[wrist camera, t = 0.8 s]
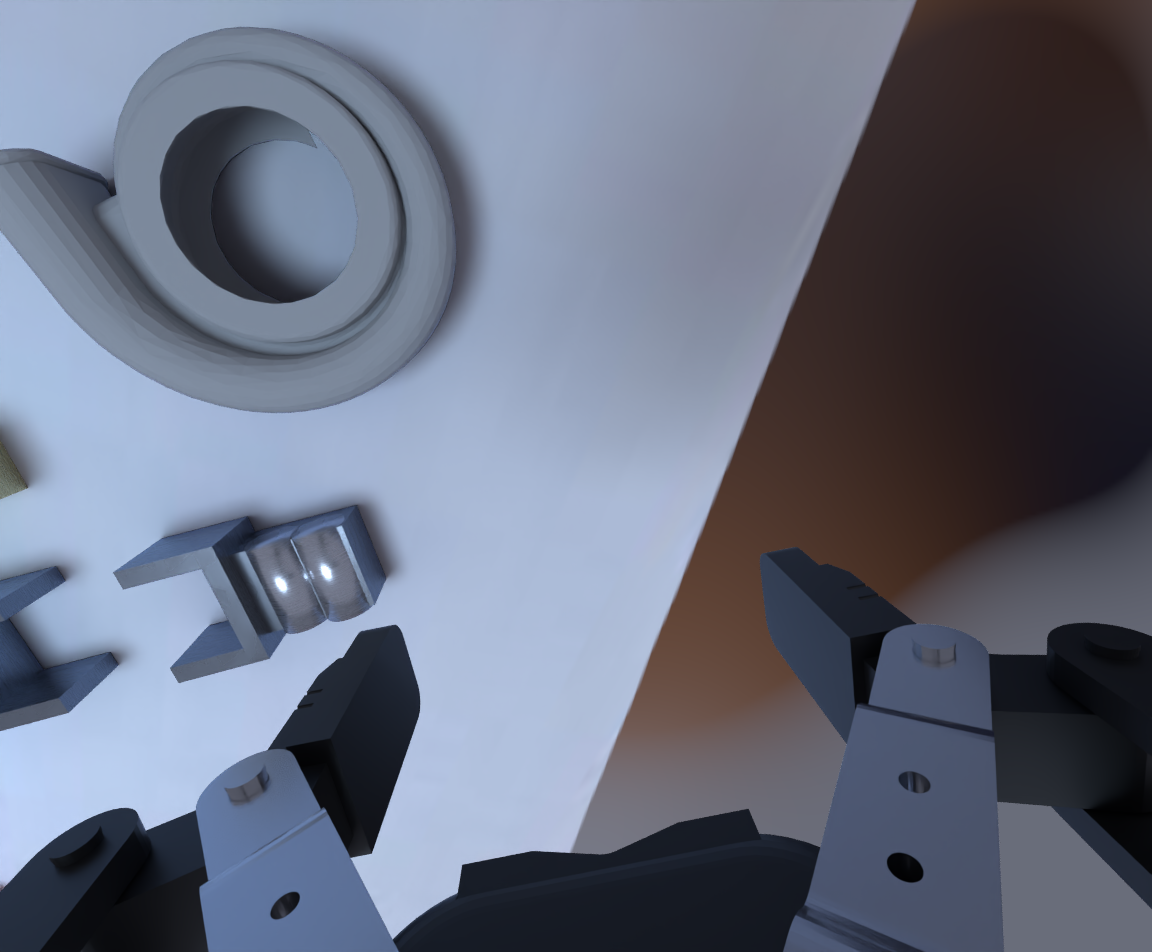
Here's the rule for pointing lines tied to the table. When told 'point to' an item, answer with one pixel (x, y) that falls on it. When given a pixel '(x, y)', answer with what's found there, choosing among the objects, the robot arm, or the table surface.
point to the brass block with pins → (9, 475)
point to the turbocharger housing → (187, 239)
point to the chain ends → (241, 585)
